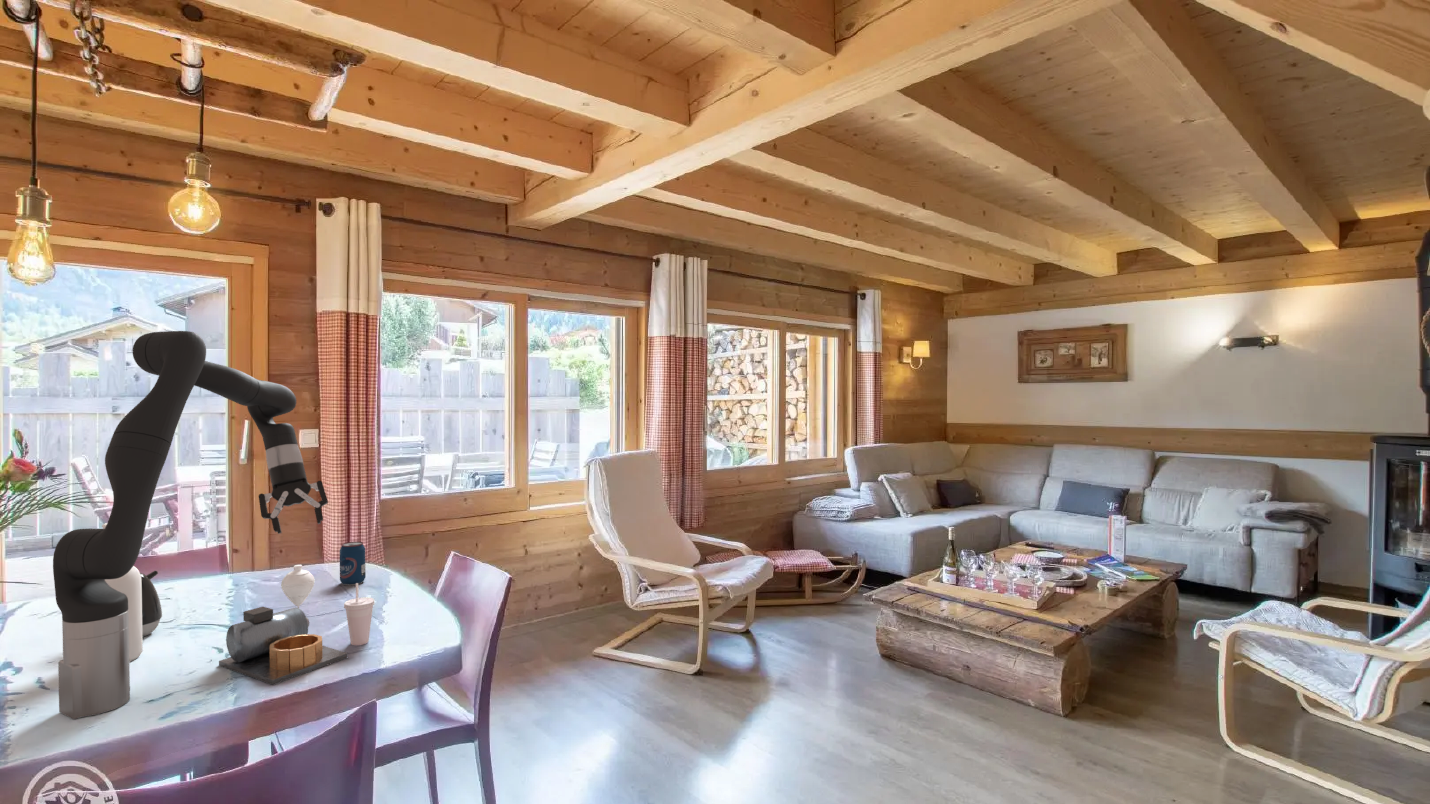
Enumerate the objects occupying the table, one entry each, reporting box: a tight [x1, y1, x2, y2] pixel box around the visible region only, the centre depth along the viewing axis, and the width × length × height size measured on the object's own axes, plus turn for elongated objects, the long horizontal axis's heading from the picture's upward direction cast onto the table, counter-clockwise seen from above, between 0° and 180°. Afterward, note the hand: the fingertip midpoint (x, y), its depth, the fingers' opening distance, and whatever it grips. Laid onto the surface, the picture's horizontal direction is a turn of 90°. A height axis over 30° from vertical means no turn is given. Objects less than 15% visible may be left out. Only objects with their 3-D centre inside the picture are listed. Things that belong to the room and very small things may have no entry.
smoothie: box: [343, 583, 376, 646], centre depth 162 cm, size 6×6×14 cm
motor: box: [218, 606, 349, 686], centre depth 151 cm, size 16×20×11 cm
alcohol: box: [101, 522, 144, 663], centre depth 152 cm, size 9×9×30 cm
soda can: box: [339, 541, 366, 586], centre depth 211 cm, size 7×7×12 cm
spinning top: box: [280, 564, 316, 609], centre depth 186 cm, size 8×8×12 cm
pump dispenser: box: [140, 570, 163, 638], centre depth 166 cm, size 10×10×15 cm
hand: (299, 528), depth 172 cm, fingers open, 8 cm apart
